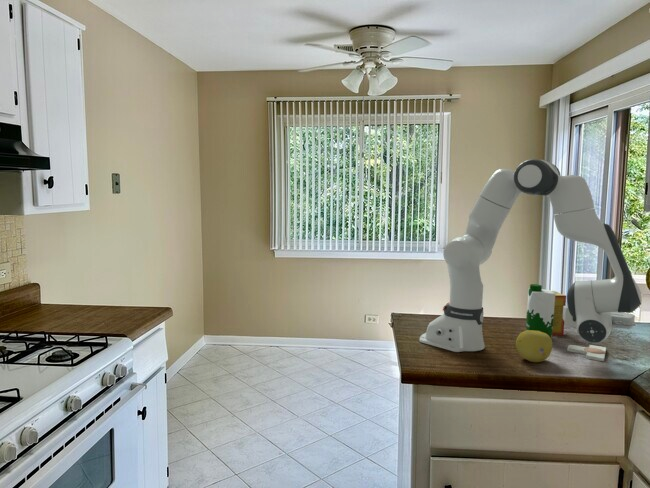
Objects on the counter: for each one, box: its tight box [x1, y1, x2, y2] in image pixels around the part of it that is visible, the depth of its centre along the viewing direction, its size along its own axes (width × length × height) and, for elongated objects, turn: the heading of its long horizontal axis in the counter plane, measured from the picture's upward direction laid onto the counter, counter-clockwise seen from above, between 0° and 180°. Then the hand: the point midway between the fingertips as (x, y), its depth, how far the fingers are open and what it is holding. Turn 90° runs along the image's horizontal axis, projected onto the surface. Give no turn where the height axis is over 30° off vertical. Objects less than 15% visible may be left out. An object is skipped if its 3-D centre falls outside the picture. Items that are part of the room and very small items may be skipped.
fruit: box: [515, 329, 553, 363], centre depth 146 cm, size 10×11×10 cm
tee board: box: [567, 344, 607, 362], centre depth 155 cm, size 11×14×1 cm
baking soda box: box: [551, 290, 567, 336], centre depth 179 cm, size 10×6×16 cm
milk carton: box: [525, 283, 555, 339], centre depth 171 cm, size 9×9×20 cm
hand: (598, 312), depth 153 cm, fingers closed on sprinkles bottle, 4 cm apart
